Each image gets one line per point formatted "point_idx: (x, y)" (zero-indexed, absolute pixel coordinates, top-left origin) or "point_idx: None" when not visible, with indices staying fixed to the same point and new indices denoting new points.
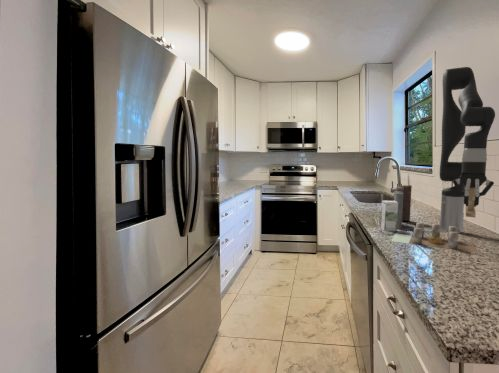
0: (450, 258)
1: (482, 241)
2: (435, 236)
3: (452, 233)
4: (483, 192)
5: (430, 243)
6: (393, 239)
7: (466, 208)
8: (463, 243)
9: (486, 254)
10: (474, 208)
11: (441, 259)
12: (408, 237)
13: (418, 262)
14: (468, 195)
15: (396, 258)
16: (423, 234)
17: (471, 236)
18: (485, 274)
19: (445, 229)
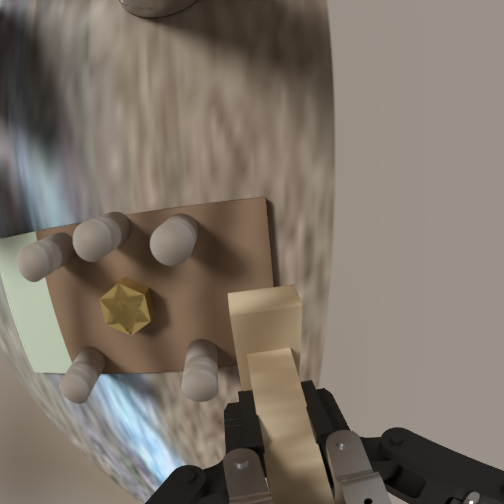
0: (213, 427)
1: (292, 92)
2: (119, 290)
3: (197, 400)
4: (390, 484)
5: (123, 333)
6: (26, 346)
7: (242, 358)
8: (227, 244)
9: (304, 322)
10: (297, 342)
11: (196, 444)
12: (39, 282)
13: (164, 479)
14: (265, 468)
15: (120, 474)
16: (69, 252)
17: (246, 20)
18: None
19: (138, 11)
